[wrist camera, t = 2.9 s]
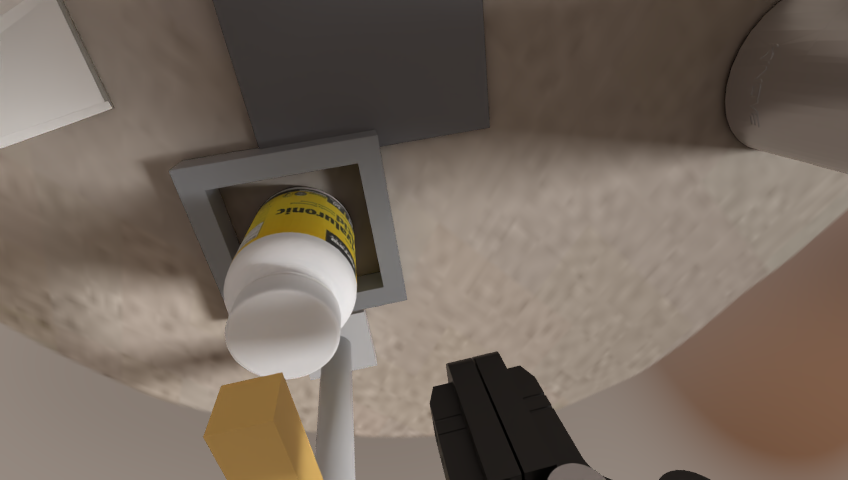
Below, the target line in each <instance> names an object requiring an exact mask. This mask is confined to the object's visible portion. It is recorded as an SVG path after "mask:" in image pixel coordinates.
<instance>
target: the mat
mask: <svg viewBox="0 0 848 480" xmlns="http://www.w3.org/2000/svg"><path fill="white" fill-rule="evenodd" d="M213 3H214V6H215V10H216V13H217V16H218V19H219V22H220V25H221V29H222V32H223V35H224V38H225V41H226V45H227V48H228V51H229V54H230V57H231V60H232V64H233V67H234V70H235V73H236V76H237V80H238V83H239V86H240V89H241V92H242V95H243V99H244V102H245V105H246V108H247V111H248V115H249V118H250V121H251V124H252V127H253V130H254V134H255V137H256V140H257V143H258V146H259V149H264V148H270V147H276V146H282V145H288V144H294V143H300V142H305V141H311V140H317V139H323V138H329V137H335V136H341V135H347V134H353V133H359V132H364V131H370V130H376V133H377V135H378V141H379V146H386V145H392V144H398V143H403V142H409V141H415V140H421V139H426V138H432V137H438V136H444V135H449V134H455V133H461V132H467V131H472V130H478V129H484V128H490V123H489V106H488V88H487V71H486V54H485V36H484V19H483V1H482V0H213Z"/></svg>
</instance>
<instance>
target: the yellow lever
mask: <svg viewBox="0 0 848 480" xmlns="http://www.w3.org/2000/svg"><path fill="white" fill-rule="evenodd" d="M203 437H204V439H205V441H206V443H207V445H208V447H209V448H210V450H211V452H212V454H213V456H214V457H215V459H216V461H217V463H218V465H219V466H220V468H221V470H222V472H223V474H224V475H225V477H226V479H227V480H323V477H322V475H321V472H320V469H319V467H318V464H317V462H316V459H315V456H314V454H313V451H312V449H311V446H310V443H309V441H308V438H307V436H306V433H305V430H304V428H303V425H302V423H301V420H300V417H299V415H298V412H297V410H296V407H295V404H294V402H293V399H292V396H291V394H290V391H289V389H288V386H287V383H286V381H285V378H284V376H283V373H282V372H281V373H276V374H272V375H267V376H263V377H258V378H254V379H249V380H245V381H241V382H236V383H232V384H227V385H223V386H221V388H220V391H219V394H218V396H217V399H216V402H215V405H214V408H213V411H212V414H211V416H210V419H209V422H208V425H207V428H206V431H205V434H204V436H203Z"/></svg>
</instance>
